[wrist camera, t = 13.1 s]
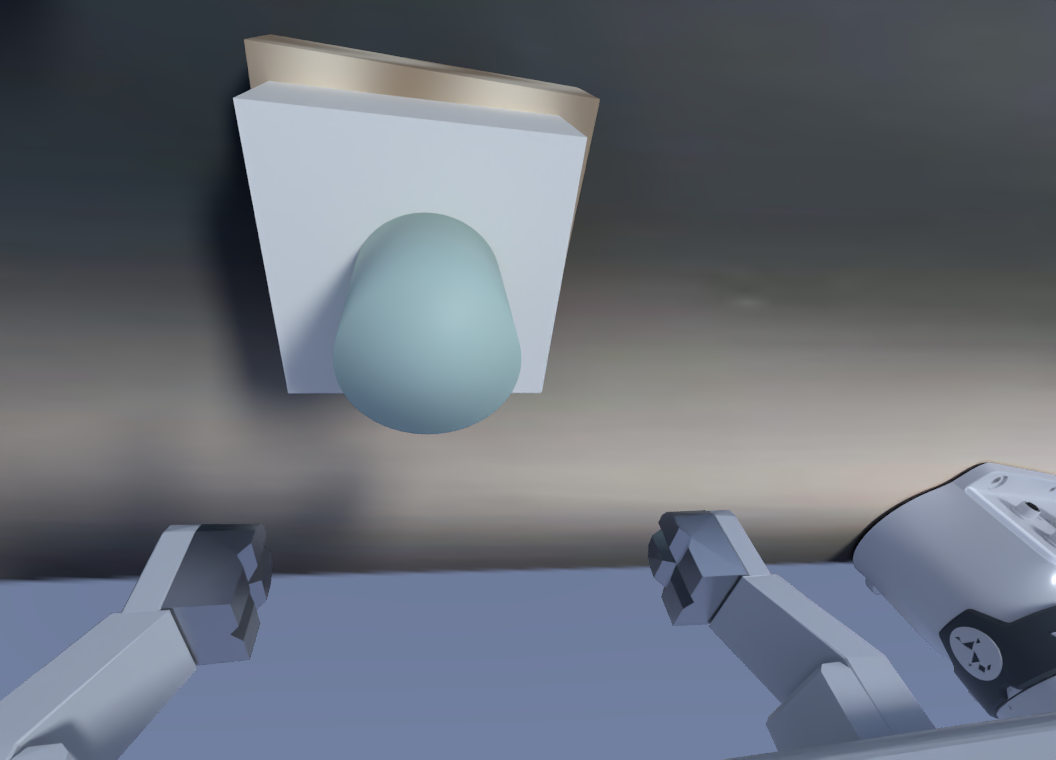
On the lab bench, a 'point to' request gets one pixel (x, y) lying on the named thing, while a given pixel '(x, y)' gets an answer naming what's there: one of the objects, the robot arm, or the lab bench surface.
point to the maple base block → (415, 81)
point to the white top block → (401, 204)
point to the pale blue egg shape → (426, 328)
